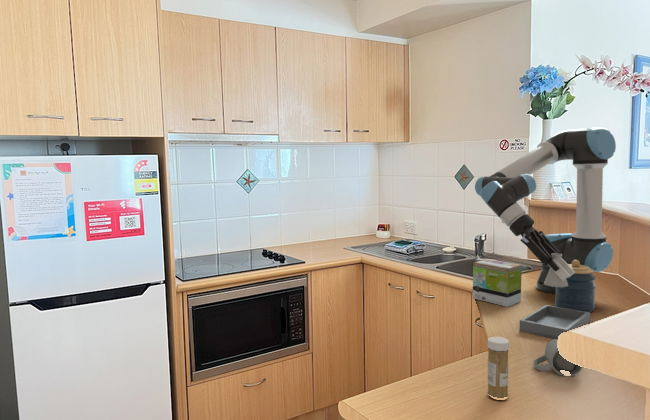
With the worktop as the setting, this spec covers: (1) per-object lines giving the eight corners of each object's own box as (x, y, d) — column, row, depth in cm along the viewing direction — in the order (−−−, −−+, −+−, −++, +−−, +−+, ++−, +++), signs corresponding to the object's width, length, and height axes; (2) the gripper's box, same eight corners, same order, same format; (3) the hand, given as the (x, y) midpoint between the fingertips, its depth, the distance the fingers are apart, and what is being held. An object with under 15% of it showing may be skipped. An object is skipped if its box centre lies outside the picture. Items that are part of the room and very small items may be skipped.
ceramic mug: (571, 363, 128) (572, 335, 128) (584, 377, 120) (584, 347, 119) (529, 363, 130) (529, 335, 129) (538, 376, 122) (539, 346, 121)
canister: (553, 302, 184) (554, 255, 183) (592, 305, 180) (593, 257, 178) (555, 311, 172) (557, 262, 171) (597, 315, 168) (599, 264, 166)
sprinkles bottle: (510, 402, 108) (511, 343, 107) (488, 401, 109) (489, 342, 108) (505, 392, 113) (506, 336, 112) (485, 391, 114) (486, 335, 112)
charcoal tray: (545, 314, 169) (545, 304, 169) (589, 323, 160) (590, 312, 159) (519, 331, 154) (519, 320, 153) (566, 341, 144) (567, 329, 144)
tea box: (471, 299, 190) (472, 261, 189) (486, 294, 197) (486, 258, 195) (507, 307, 179) (508, 267, 177) (521, 302, 185) (522, 263, 184)
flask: (571, 284, 156) (572, 253, 155) (564, 289, 150) (565, 257, 149) (547, 281, 161) (548, 251, 160) (540, 285, 155) (540, 254, 154)
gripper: (520, 225, 171) (569, 278, 161) (498, 230, 158) (549, 289, 148) (535, 210, 167) (587, 265, 157) (514, 215, 154) (569, 274, 144)
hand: (569, 276), depth 153 cm, fingers closed on flask, 4 cm apart
